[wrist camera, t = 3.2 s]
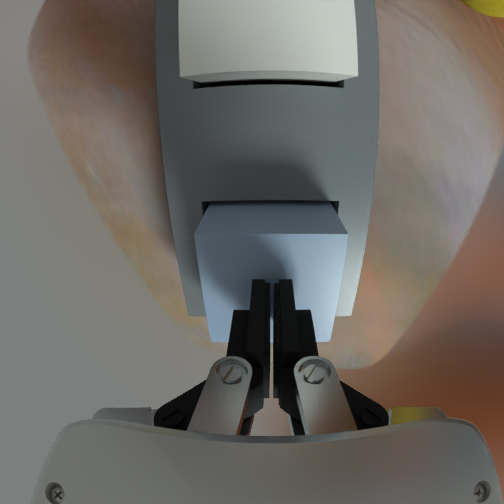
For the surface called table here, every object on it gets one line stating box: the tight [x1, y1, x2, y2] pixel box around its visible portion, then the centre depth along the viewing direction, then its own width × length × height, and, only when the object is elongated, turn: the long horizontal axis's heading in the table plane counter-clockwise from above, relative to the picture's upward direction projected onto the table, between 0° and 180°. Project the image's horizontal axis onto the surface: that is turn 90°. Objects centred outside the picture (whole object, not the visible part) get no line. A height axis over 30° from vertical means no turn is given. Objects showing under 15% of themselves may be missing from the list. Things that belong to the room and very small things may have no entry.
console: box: [155, 0, 379, 317], centre depth 14 cm, size 20×10×4 cm, turn 2°
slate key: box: [194, 200, 348, 343], centre depth 14 cm, size 6×6×4 cm
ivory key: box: [178, 0, 358, 84], centre depth 8 cm, size 6×6×4 cm
